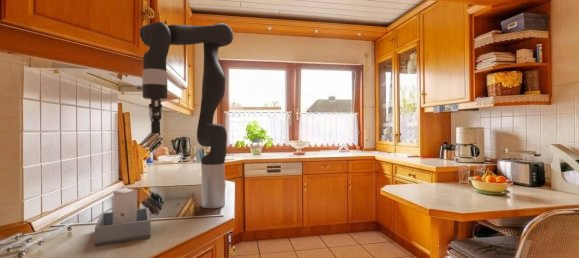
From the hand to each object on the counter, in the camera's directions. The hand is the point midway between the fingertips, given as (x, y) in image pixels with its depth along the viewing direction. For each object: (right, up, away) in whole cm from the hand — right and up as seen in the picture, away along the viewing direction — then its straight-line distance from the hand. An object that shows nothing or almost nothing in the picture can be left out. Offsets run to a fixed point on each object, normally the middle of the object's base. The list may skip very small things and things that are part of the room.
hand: (155, 133), depth 99 cm
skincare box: (-5, -29, -9) cm, 31 cm away
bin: (-6, -30, -8) cm, 32 cm away
